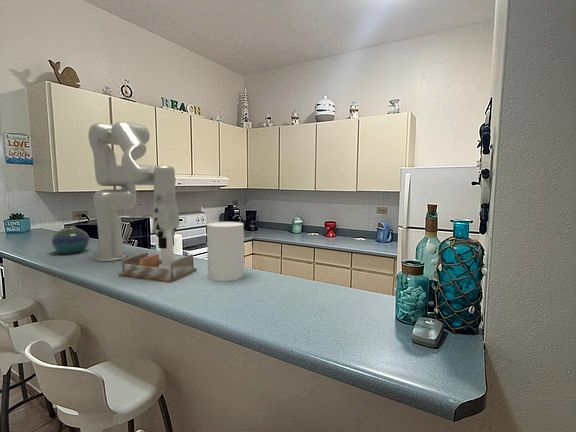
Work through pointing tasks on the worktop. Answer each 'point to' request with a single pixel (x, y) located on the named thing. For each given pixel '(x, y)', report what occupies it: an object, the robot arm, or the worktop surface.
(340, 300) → the worktop surface
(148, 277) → the grey brown open box
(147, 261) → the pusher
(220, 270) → the canister
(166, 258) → the candle
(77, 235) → the vase
